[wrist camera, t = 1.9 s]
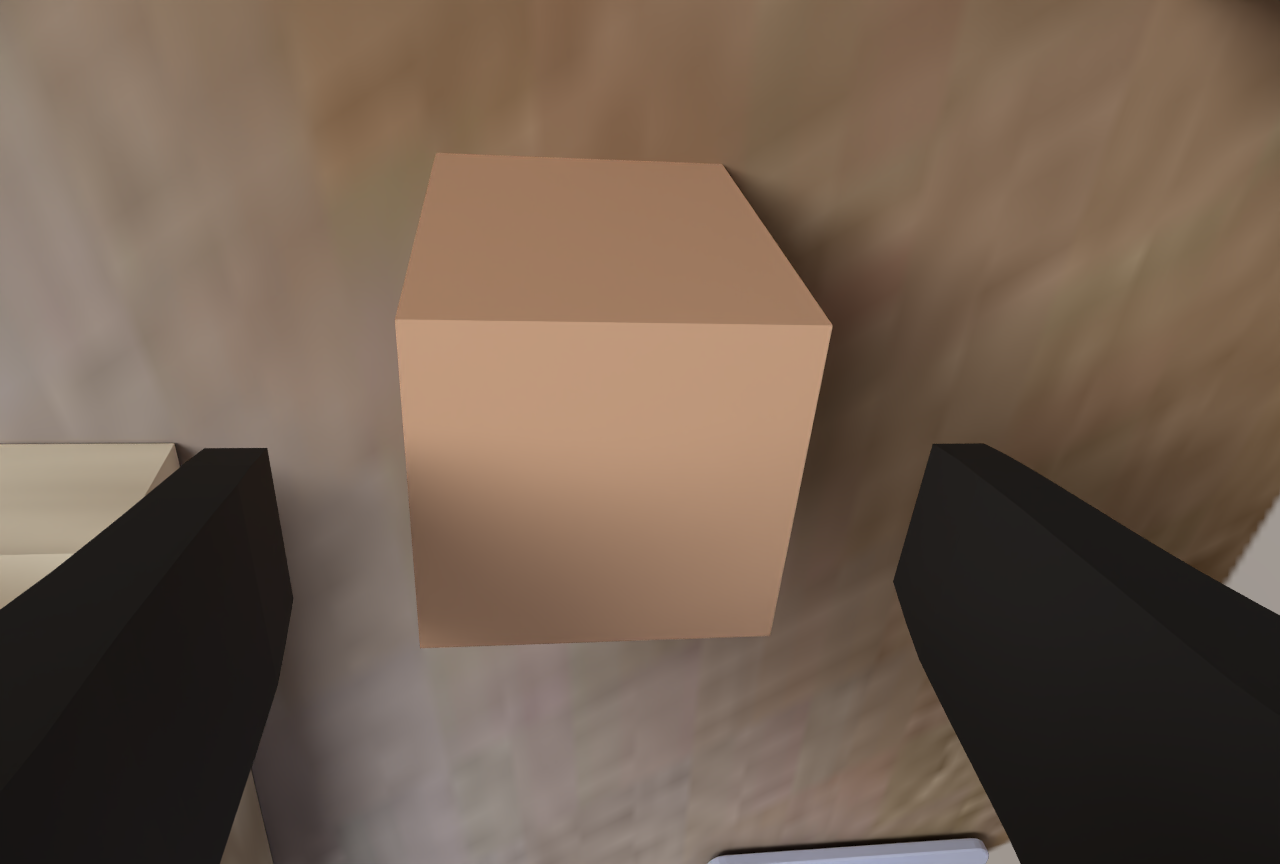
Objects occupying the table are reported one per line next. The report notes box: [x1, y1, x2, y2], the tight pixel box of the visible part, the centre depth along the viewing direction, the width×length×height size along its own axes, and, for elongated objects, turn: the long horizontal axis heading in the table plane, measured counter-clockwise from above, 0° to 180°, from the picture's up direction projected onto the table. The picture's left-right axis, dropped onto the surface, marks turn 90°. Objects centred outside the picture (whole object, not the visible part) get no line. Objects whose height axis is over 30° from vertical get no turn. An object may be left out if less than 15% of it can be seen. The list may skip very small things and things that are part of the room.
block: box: [395, 153, 833, 648], centre depth 13 cm, size 4×4×6 cm
